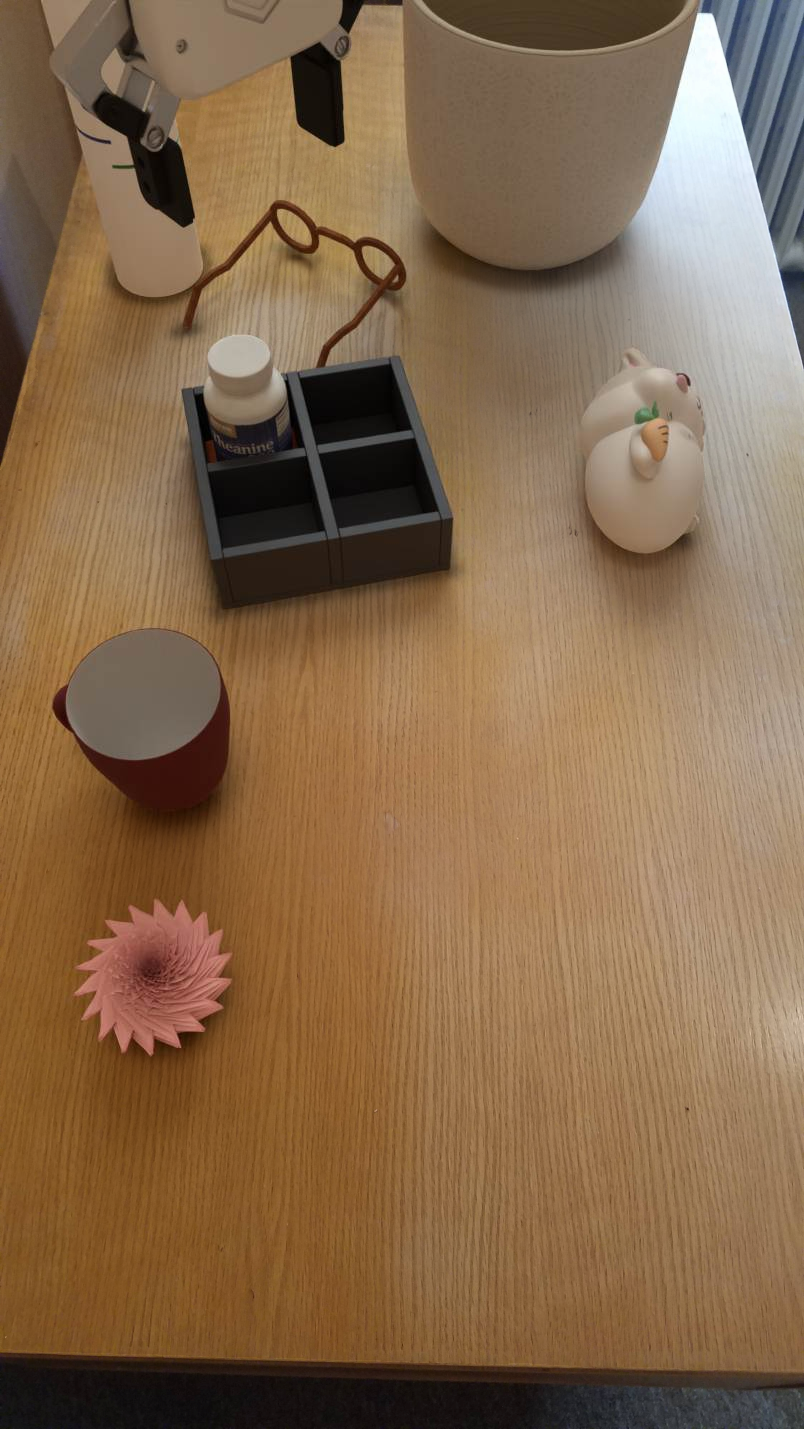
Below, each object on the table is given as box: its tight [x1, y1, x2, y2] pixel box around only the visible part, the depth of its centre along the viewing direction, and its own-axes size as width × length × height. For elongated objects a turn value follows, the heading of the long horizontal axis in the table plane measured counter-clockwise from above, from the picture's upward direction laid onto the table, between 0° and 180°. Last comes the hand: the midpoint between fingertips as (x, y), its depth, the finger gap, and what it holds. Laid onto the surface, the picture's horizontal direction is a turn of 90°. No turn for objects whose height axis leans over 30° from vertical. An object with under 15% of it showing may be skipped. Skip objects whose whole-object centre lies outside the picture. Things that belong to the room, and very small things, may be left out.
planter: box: [402, 0, 701, 271], centre depth 79 cm, size 21×21×19 cm
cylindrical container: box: [40, 0, 204, 298], centre depth 73 cm, size 7×7×25 cm
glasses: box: [181, 199, 407, 368], centre depth 79 cm, size 13×13×5 cm
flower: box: [72, 898, 234, 1057], centre depth 52 cm, size 8×8×6 cm
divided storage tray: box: [180, 354, 454, 610], centre depth 69 cm, size 15×15×5 cm
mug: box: [51, 627, 231, 812], centre depth 56 cm, size 10×8×10 cm
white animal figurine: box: [579, 347, 706, 554], centre depth 68 cm, size 10×8×15 cm
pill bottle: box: [203, 333, 293, 462], centre depth 68 cm, size 5×5×10 cm
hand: (248, 173), depth 52 cm, fingers open, 9 cm apart
